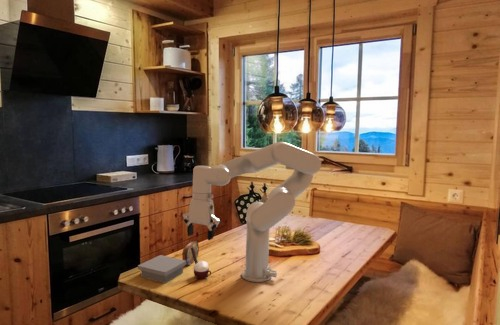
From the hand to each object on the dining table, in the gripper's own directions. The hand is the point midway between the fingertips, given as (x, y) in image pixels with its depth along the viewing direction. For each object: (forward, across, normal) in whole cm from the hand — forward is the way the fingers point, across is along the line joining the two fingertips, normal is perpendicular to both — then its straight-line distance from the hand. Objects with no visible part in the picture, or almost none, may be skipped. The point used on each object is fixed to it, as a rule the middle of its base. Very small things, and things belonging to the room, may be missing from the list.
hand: (200, 237), depth 149 cm
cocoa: (+17, -1, 0) cm, 17 cm away
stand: (+17, +14, +6) cm, 23 cm away
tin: (+17, +13, -12) cm, 25 cm away
